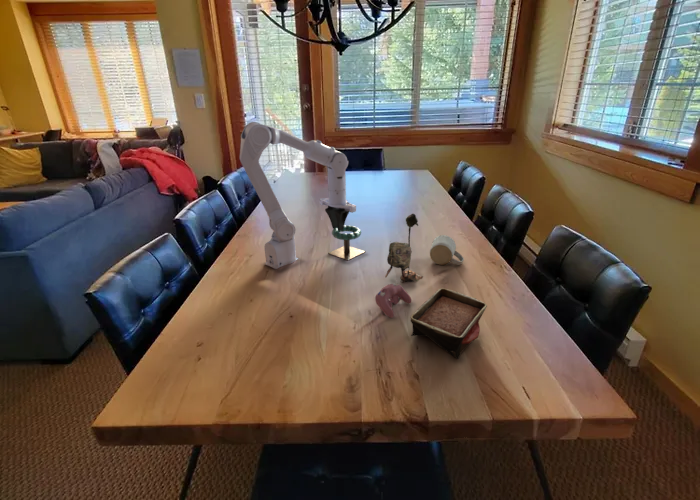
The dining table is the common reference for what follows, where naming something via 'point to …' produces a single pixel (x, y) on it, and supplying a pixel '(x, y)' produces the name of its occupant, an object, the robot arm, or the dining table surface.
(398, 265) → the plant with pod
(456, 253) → the ceramic mug
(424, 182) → the dining table surface
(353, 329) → the dining table surface
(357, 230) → the ring
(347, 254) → the brown peg stand
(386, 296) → the video game controller
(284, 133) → the robot arm
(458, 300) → the baking dish
